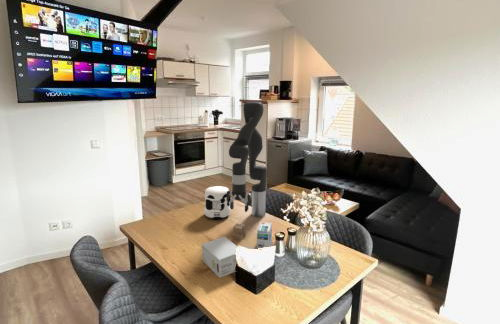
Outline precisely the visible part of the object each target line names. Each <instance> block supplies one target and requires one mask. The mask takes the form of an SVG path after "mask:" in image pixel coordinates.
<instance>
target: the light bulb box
mask: <svg viewBox="0 0 500 324" xmlns="http://www.w3.org/2000/svg"><path fill="white" fill-rule="evenodd" d="M272 238H273V223H272V222H263V221H260V222H259V224H258V227H257V229H256V249H257V248H263V247H269V246H270V247H271V245H272V240H273V239H272Z"/></svg>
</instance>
